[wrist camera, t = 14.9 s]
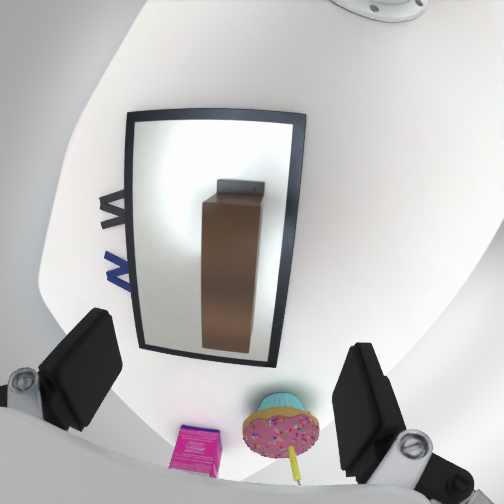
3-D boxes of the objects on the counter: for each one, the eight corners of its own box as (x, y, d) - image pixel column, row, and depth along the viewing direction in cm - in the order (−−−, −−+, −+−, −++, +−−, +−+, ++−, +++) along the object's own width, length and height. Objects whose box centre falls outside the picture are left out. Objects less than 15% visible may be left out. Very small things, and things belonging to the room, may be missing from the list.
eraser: (219, 178, 22) (202, 185, 17) (265, 181, 22) (262, 189, 17) (214, 321, 26) (202, 358, 21) (253, 325, 26) (248, 363, 21)
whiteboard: (131, 113, 21) (125, 112, 21) (305, 115, 21) (306, 113, 20) (141, 344, 29) (138, 349, 28) (276, 363, 29) (275, 369, 28)
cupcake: (296, 371, 29) (301, 465, 18) (327, 410, 31) (338, 491, 20) (232, 396, 31) (216, 481, 20) (268, 430, 33) (264, 506, 22)
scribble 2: (104, 251, 26) (103, 252, 26) (130, 253, 26) (128, 254, 26) (109, 287, 27) (108, 288, 27) (134, 291, 27) (132, 292, 27)
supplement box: (224, 449, 35) (212, 511, 25) (186, 444, 36) (168, 503, 25) (221, 429, 34) (208, 498, 23) (180, 423, 34) (159, 489, 23)
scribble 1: (100, 189, 24) (98, 189, 24) (127, 189, 24) (125, 189, 24) (102, 228, 25) (100, 229, 25) (128, 230, 25) (127, 230, 25)
